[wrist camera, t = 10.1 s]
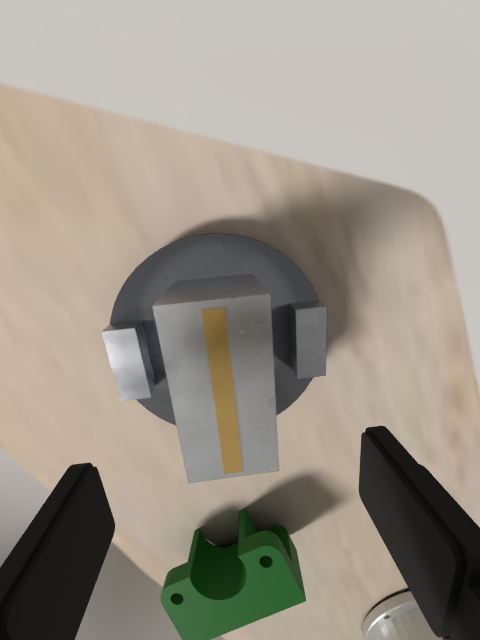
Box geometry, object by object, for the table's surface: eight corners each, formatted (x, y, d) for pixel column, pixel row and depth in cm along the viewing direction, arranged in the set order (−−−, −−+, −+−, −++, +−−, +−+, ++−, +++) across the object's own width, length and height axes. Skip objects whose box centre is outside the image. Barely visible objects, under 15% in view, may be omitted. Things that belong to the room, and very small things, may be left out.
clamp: (251, 474, 30) (291, 525, 22) (273, 517, 31) (321, 584, 22) (153, 549, 26) (155, 649, 18) (181, 598, 27) (196, 718, 18)
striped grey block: (252, 273, 17) (270, 294, 11) (261, 403, 20) (279, 472, 14) (174, 281, 17) (151, 306, 11) (196, 411, 20) (187, 485, 14)
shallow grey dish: (317, 223, 18) (336, 221, 15) (316, 407, 23) (331, 432, 20) (92, 245, 17) (67, 247, 14) (141, 430, 22) (130, 459, 19)
